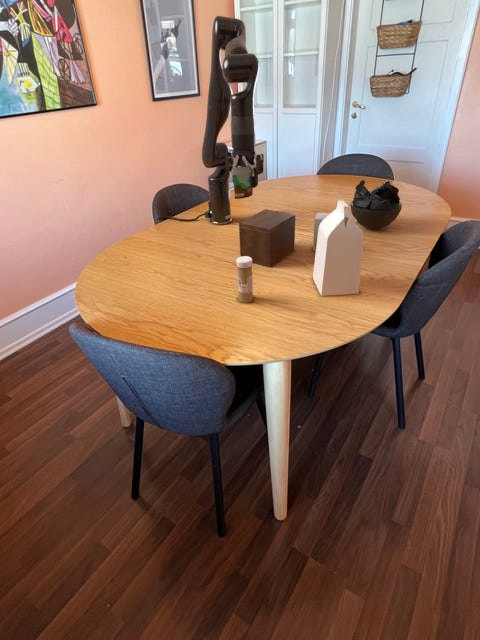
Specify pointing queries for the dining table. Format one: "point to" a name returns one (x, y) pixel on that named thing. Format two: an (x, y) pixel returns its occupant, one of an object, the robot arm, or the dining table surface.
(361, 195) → the bowl of black rocks
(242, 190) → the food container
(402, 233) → the dining table surface
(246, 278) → the sprinkles bottle
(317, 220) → the white packaging box
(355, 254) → the milk
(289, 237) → the dark wooden box
